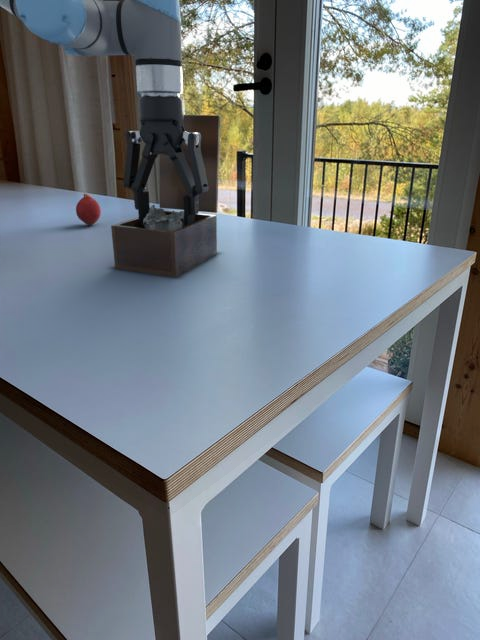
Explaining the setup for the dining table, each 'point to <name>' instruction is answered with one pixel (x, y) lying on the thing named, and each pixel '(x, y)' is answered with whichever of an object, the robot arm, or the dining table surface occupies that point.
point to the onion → (88, 210)
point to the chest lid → (169, 176)
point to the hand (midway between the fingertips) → (167, 229)
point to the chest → (164, 246)
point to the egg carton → (163, 220)
